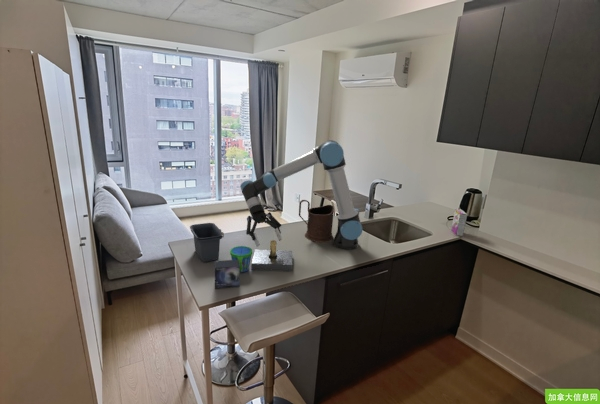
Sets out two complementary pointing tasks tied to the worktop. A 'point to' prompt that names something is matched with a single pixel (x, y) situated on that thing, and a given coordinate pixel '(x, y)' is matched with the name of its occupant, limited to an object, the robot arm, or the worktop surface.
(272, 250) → the brass pin
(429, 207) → the worktop surface
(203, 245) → the storage bin
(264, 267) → the plate
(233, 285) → the small box
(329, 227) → the brown metal pitcher
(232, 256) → the snack cup
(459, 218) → the candy bar box
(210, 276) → the worktop surface
